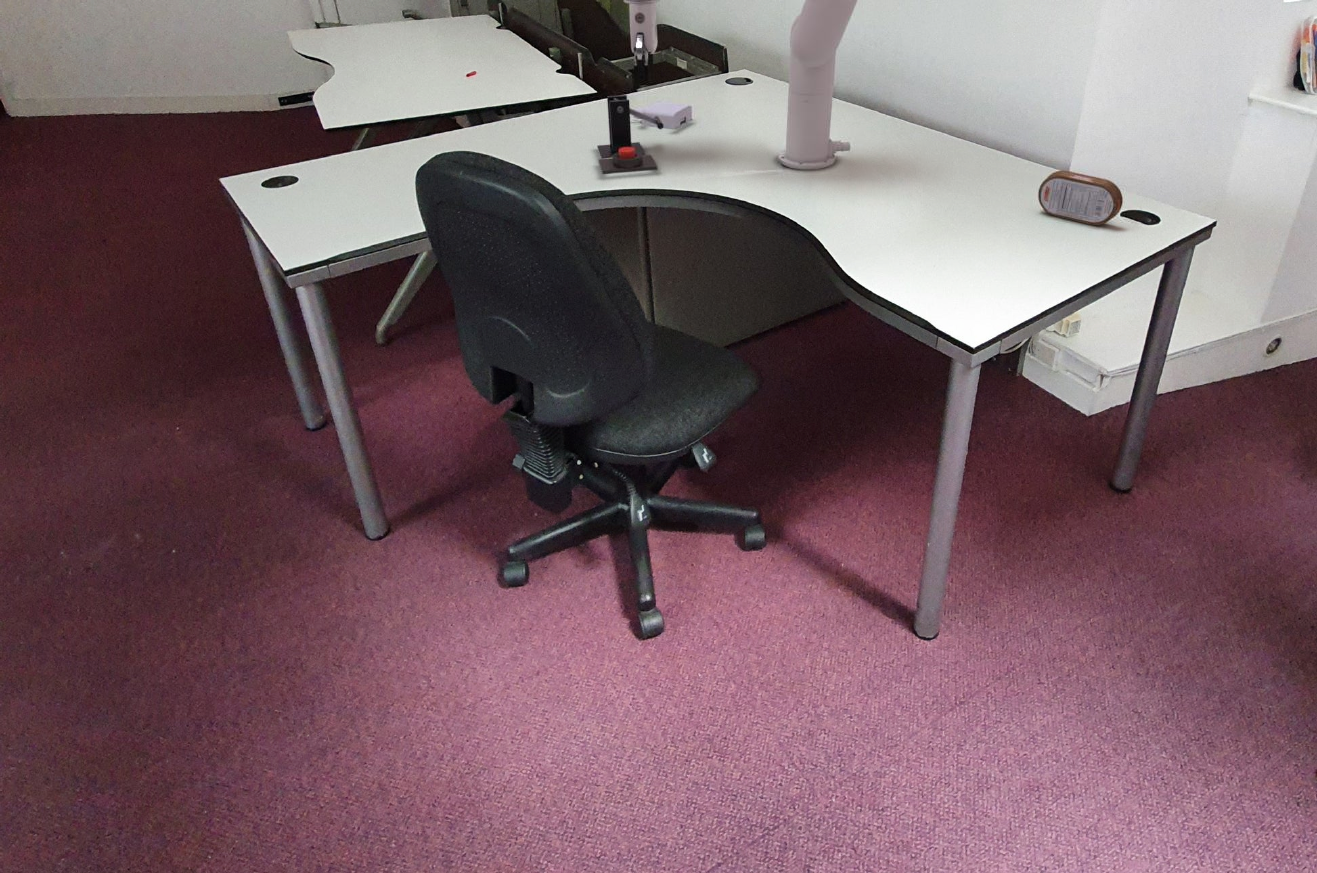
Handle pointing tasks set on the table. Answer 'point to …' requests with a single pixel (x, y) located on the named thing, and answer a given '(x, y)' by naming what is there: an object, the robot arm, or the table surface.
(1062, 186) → the tin
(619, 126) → the bracket
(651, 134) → the table surface
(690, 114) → the charger
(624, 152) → the button
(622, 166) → the control block
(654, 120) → the lever
